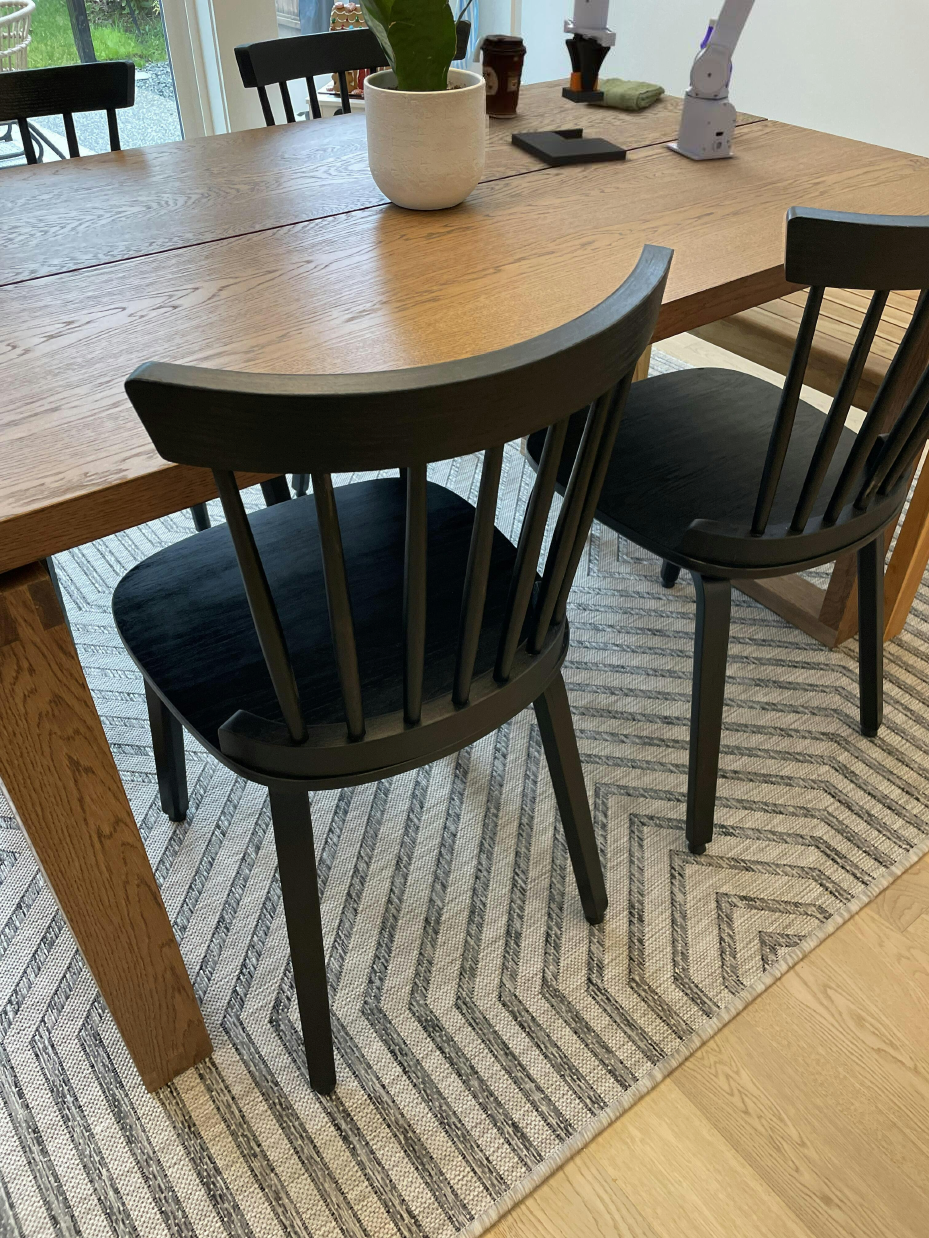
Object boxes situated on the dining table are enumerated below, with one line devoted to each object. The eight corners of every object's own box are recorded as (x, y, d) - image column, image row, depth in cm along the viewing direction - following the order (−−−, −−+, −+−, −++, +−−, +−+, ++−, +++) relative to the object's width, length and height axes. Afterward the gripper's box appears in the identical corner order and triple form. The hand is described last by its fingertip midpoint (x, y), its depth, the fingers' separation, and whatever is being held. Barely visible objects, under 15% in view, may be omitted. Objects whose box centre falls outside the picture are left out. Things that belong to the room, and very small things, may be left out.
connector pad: (603, 101, 160) (606, 75, 157) (576, 103, 158) (578, 77, 155) (588, 95, 163) (591, 69, 161) (561, 96, 162) (563, 70, 159)
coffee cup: (484, 121, 175) (487, 41, 166) (472, 111, 181) (474, 33, 172) (528, 119, 177) (532, 40, 168) (514, 109, 183) (518, 32, 174)
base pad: (625, 160, 156) (627, 150, 155) (552, 166, 152) (553, 157, 151) (580, 137, 167) (581, 128, 166) (511, 143, 163) (511, 133, 162)
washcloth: (666, 97, 195) (669, 80, 193) (638, 113, 183) (641, 95, 181) (608, 90, 199) (610, 73, 197) (577, 105, 187) (579, 87, 185)
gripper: (550, -11, 154) (544, 81, 163) (592, 1, 144) (583, 98, 153) (587, -12, 157) (579, 79, 165) (631, -1, 147) (620, 95, 155)
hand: (583, 88), depth 159 cm, fingers closed on connector pad, 2 cm apart
